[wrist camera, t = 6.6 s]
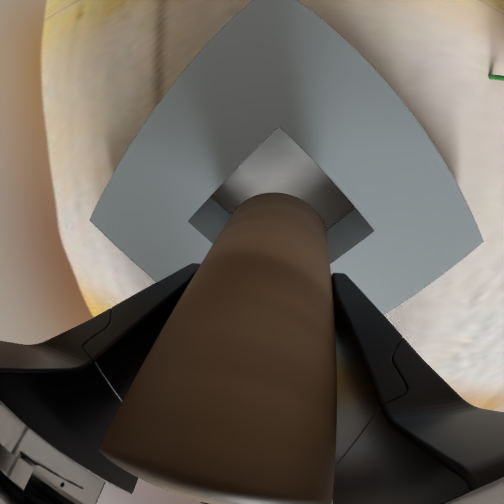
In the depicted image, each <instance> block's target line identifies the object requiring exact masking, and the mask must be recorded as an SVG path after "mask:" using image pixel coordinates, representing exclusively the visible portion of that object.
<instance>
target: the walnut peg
mask: <svg viewBox="0 0 504 504" xmlns="http://www.w3.org/2000/svg"><path fill="white" fill-rule="evenodd" d="M336 430H337V363H336V336H335V318H334V303H333V290H332V279H331V268H330V258H329V249H328V240H327V232H326V229H325V226H324V223H323V221H322V219H321V218H320V216H319V215H318V214H317V212H316V211H315V210H314V209H313V208H312V207H311V206H310V205H308V204H307V203H306V202H304V201H303V200H301V199H299V198H297V197H294V196H291V195H288V194H283V193H265V194H260V195H257V196H254V197H251V198H249V199H247V200H246V201H244V202H243V203H242V204H240V205H239V206H238V207H237V208H236V209H235V211H234V212H233V213H232V215H231V216H230V218H229V220H228V221H227V223H226V224H225V226H224V227H223V229H222V231H221V232H220V234H219V235H218V237H217V239H216V240H215V242H214V243H213V245H212V247H211V248H210V250H209V252H208V253H207V255H206V256H205V258H204V260H203V261H202V263H201V265H200V266H199V268H198V270H197V271H196V273H195V275H194V276H193V278H192V279H191V281H190V283H189V284H188V286H187V288H186V290H185V291H184V293H183V295H182V296H181V298H180V300H179V301H178V303H177V305H176V306H175V308H174V310H173V312H172V313H171V315H170V317H169V318H168V320H167V322H166V324H165V325H164V327H163V329H162V331H161V332H160V334H159V336H158V338H157V339H156V341H155V343H154V345H153V347H152V348H151V350H150V352H149V354H148V356H147V357H146V359H145V361H144V363H143V365H142V366H141V368H140V370H139V372H138V374H137V376H136V377H135V379H134V381H133V383H132V385H131V387H130V388H129V390H128V392H127V394H126V396H125V398H124V400H123V402H122V404H121V405H120V407H119V409H118V411H117V413H116V415H115V417H114V419H113V421H112V423H111V425H110V427H109V429H108V431H107V433H106V435H105V437H104V439H103V441H102V443H101V445H100V447H99V451H100V452H101V453H102V454H103V455H104V456H105V457H106V458H107V459H109V460H110V461H111V462H113V463H114V464H116V465H117V466H119V467H120V468H122V469H124V470H125V471H127V472H129V473H131V474H132V475H134V476H136V477H138V478H140V479H142V480H144V481H146V482H148V483H151V484H153V485H155V486H157V487H160V488H162V489H165V490H167V491H170V492H173V493H176V494H178V495H181V496H184V497H187V498H190V499H194V500H197V501H201V502H205V503H208V504H332V495H333V484H334V471H335V454H336Z"/></svg>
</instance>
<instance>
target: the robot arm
mask: <svg viewBox="0 0 504 504" xmlns="http://www.w3.org/2000/svg"><path fill="white" fill-rule="evenodd" d="M200 265H201V264H199V263H191V264H189V265H188V266H186V267H184V268H182V269H180V270H178V271H177V272H175V273H173V274H171V275H169V276H167V277H166V278H164V279H162V280H160V281H158V282H157V283H155V284H153V285H151V286H149V287H147V288H146V289H144V290H142V291H140V292H138V293H137V294H135V295H133V296H131V297H130V298H128V299H126V300H124V301H122V302H121V303H119V304H117V305H115V306H114V307H112V309H111V308H110V309H108V310H106V311H105V312H103V313H101V314H99V315H97V316H96V317H94V318H92V319H90V320H88V321H86V322H84V323H82V324H80V325H78V326H76V327H74V328H72V329H70V330H68V331H66V332H64V333H62V334H60V335H57V336H55V337H53V338H51V339H49V340H47V341H45V342H43V343H39V344H34V345H23V344H16V343H10V342H4V341H0V504H96V503H97V500H98V498H99V496H100V494H101V491H102V489H103V487H104V484H105V482H107V483H109V484H111V485H113V486H115V487H117V488H119V489H121V490H123V491H126V492H128V493H130V494H132V493H133V491H134V488H135V485H136V483H137V480H138V477H136V476H134V475H132V474H131V473H129V472H127V471H125V470H124V469H122V468H120V467H119V466H117V465H116V464H114V463H113V462H111V461H110V460H109V459H107V458H106V457H105V456H104V455H103V454H102V453H101V452H100V451H99V447H100V445H101V443H102V441H103V439H104V437H105V435H106V433H107V431H108V429H109V427H110V425H111V423H112V421H113V419H114V417H115V415H116V413H117V411H118V409H119V407H120V405H121V404H122V402H123V400H124V398H125V396H126V394H127V392H128V390H129V388H130V387H131V385H132V383H133V381H134V379H135V377H136V376H137V374H138V372H139V370H140V368H141V366H142V365H143V363H144V361H145V359H146V357H147V356H148V354H149V352H150V350H151V348H152V347H153V345H154V343H155V341H156V339H157V338H158V336H159V334H160V332H161V331H162V329H163V327H164V325H165V324H166V322H167V320H168V318H169V317H170V315H171V313H172V312H173V310H174V308H175V306H176V305H177V303H178V301H179V300H180V298H181V296H182V295H183V293H184V291H185V290H186V288H187V286H188V284H189V283H190V281H191V279H192V278H193V276H194V275H195V273H196V271H197V270H198V268H199V266H200ZM331 279H332V290H333V303H334V318H335V336H336V363H337V430H336V454H335V471H334V484H333V500H332V502H333V503H332V504H504V412H498V411H492V410H486V409H481V408H478V407H475V406H473V405H471V404H469V403H468V402H466V401H465V400H464V399H463V398H462V397H460V396H459V395H458V394H457V393H456V392H455V391H454V390H453V389H452V388H451V387H450V386H449V385H448V384H447V383H446V382H445V381H444V380H443V379H442V378H441V377H440V376H439V375H438V374H437V373H436V372H435V371H434V370H433V369H432V368H431V367H430V366H429V365H428V364H427V363H426V362H425V361H424V360H423V359H422V358H421V357H420V356H419V355H418V353H417V352H416V351H415V350H414V349H413V348H412V347H411V346H410V344H409V343H408V342H407V341H406V340H405V339H404V338H403V337H402V335H401V334H400V333H399V332H398V331H397V330H396V328H395V327H394V326H393V325H392V324H391V323H390V322H389V321H388V319H387V318H386V317H385V316H384V315H383V314H382V313H381V312H380V311H379V309H378V308H377V307H376V306H375V305H374V304H373V303H372V302H371V301H370V300H369V298H368V297H367V296H366V295H365V294H364V293H363V292H362V291H361V290H360V289H359V288H358V287H357V286H356V284H355V283H354V282H353V281H352V280H351V279H350V278H349V277H348V276H347V275H346V274H345V273H332V275H331ZM201 503H203V504H208V503H205V502H201Z"/></svg>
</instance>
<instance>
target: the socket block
mask: <svg viewBox="0 0 504 504" xmlns="http://www.w3.org/2000/svg"><path fill="white" fill-rule="evenodd" d="M278 127H280V128H281V129H282V130H283V131H284V132H286V133H287V134H288V135H289V136H290V137H291V138H292V139H293V140H294V141H295V142H296V143H297V144H298V145H299V146H300V147H301V148H302V149H303V150H304V151H305V152H306V153H307V154H308V155H309V156H310V158H311V159H312V160H313V161H314V162H315V163H316V164H317V165H318V166H319V167H320V168H321V169H322V170H323V171H324V172H325V173H326V175H327V176H328V177H329V178H330V179H331V180H332V181H333V182H334V183H335V184H336V186H337V187H338V188H339V189H340V190H341V191H342V192H343V193H344V195H345V196H346V197H347V198H348V199H349V200H350V202H351V203H352V204H353V205H354V206H355V207H356V208H355V209H354V210H352V211H351V212H350V213H349V214H347V215H346V216H345V217H344V218H342V219H341V220H340V221H339V222H337V223H336V224H335V225H333V226H332V227H331V228H330V229H328V230H327V231H326V232H327V240H328V249H329V258H330V268H331V275H332V273H345V274H346V275H347V276H348V277H349V278H350V279H351V280H352V281H353V282H354V283H355V284H356V286H357V287H358V288H359V289H360V290H361V291H362V292H363V293H364V294H365V295H366V296H367V297H368V298H369V300H370V301H371V302H372V303H373V304H374V305H375V306H376V307H377V308H378V309H379V311H380V312H381V313H382V314H383V315H384V314H385V313H387V312H389V311H390V310H392V309H393V308H395V307H396V306H398V305H400V304H401V303H403V302H404V301H406V300H407V299H409V298H410V297H412V296H413V295H415V294H416V293H417V292H419V291H420V290H422V289H423V288H425V287H426V286H427V285H429V284H430V283H432V282H433V281H434V280H436V279H437V278H438V277H440V276H441V275H443V274H444V273H445V272H447V271H448V270H449V269H450V268H452V267H453V266H454V265H456V264H457V263H458V262H459V261H461V260H462V259H463V258H464V257H466V256H467V255H468V254H469V253H471V252H472V251H473V250H474V249H475V248H477V247H478V246H479V245H480V244H481V243H482V242H484V241H483V238H482V236H481V233H480V231H479V229H478V226H477V224H476V222H475V219H474V217H473V215H472V213H471V211H470V209H469V206H468V204H467V202H466V200H465V198H464V196H463V194H462V192H461V190H460V189H459V187H458V185H457V183H456V181H455V179H454V177H453V176H452V174H451V172H450V170H449V169H448V167H447V165H446V163H445V162H444V160H443V158H442V157H441V155H440V154H439V152H438V150H437V149H436V147H435V146H434V144H433V143H432V141H431V140H430V138H429V137H428V135H427V134H426V132H425V131H424V129H423V128H422V126H421V125H420V124H419V122H418V121H417V119H416V118H415V117H414V115H413V114H412V113H411V111H410V110H409V109H408V107H407V106H406V105H405V104H404V102H403V101H402V100H401V99H400V97H399V96H398V95H397V94H396V92H395V91H394V90H393V89H392V88H391V87H390V85H389V84H388V83H387V82H386V81H385V80H384V78H383V77H382V76H381V75H380V74H379V73H378V72H377V71H376V70H375V69H374V67H373V66H372V65H371V64H370V63H369V62H368V61H367V60H366V59H365V58H364V57H363V56H362V55H361V54H360V53H359V52H358V51H357V50H356V49H355V48H354V47H353V46H352V45H351V44H350V43H348V42H347V41H346V40H345V39H344V38H343V37H342V36H341V35H340V34H339V33H337V32H336V31H335V30H334V29H333V28H332V27H331V26H329V25H328V24H327V23H326V22H325V21H323V20H322V19H321V18H320V17H318V16H317V15H316V14H315V13H313V12H312V11H311V10H310V9H308V8H307V7H306V6H304V5H303V4H302V3H300V2H299V1H297V0H253V1H251V2H250V3H249V4H248V5H247V6H246V7H245V8H244V9H242V10H241V11H240V12H239V13H238V14H237V15H236V16H235V17H234V18H233V19H232V20H231V21H230V22H229V23H228V24H226V25H225V26H224V27H223V28H222V29H221V30H220V31H219V32H218V34H217V35H216V36H215V37H214V38H213V39H212V40H211V41H210V42H209V43H208V44H207V45H206V46H205V47H204V48H203V49H202V51H201V52H200V53H199V54H198V55H197V56H196V57H195V58H194V60H193V61H192V62H191V63H190V64H189V65H188V66H187V68H186V69H185V70H184V71H183V72H182V74H181V75H180V76H179V77H178V79H177V80H176V81H175V82H174V84H173V85H172V86H171V87H170V89H169V90H168V91H167V93H166V94H165V95H164V97H163V98H162V99H161V101H160V102H159V103H158V105H157V106H156V107H155V109H154V110H153V112H152V113H151V114H150V116H149V117H148V119H147V120H146V122H145V123H144V125H143V126H142V128H141V129H140V131H139V132H138V134H137V135H136V137H135V138H134V140H133V141H132V143H131V145H130V146H129V148H128V149H127V151H126V153H125V154H124V156H123V158H122V159H121V161H120V163H119V164H118V166H117V168H116V170H115V171H114V173H113V175H112V177H111V179H110V180H109V182H108V184H107V186H106V188H105V190H104V192H103V194H102V195H101V197H100V199H99V201H98V203H97V205H96V207H95V209H94V211H93V214H92V216H91V218H90V221H91V222H92V223H93V224H94V225H95V226H96V227H97V228H98V229H99V230H100V231H101V232H102V233H103V234H104V235H105V236H106V237H107V238H108V239H109V240H110V241H111V242H112V243H113V244H115V245H116V246H117V247H118V248H119V249H120V250H121V251H122V252H123V253H124V254H125V255H126V256H127V257H129V258H130V259H131V260H132V261H133V262H134V263H135V264H136V265H137V266H139V267H140V268H141V269H142V270H143V271H144V272H145V273H147V274H148V275H149V276H150V277H151V278H152V279H153V280H155V281H156V282H158V281H160V280H162V279H164V278H166V277H167V276H169V275H171V274H173V273H175V272H177V271H178V270H180V269H182V268H184V267H186V266H188V265H189V264H191V263H199V264H201V263H202V261H203V260H204V258H205V256H206V255H207V253H208V252H209V250H210V248H211V247H212V245H213V243H214V242H215V240H216V239H217V237H218V235H219V234H220V232H221V231H222V229H223V227H224V226H225V224H226V223H227V221H228V220H229V218H230V216H231V215H230V214H229V213H228V212H227V211H226V210H225V209H224V208H223V207H221V206H220V205H219V204H218V203H217V202H216V201H215V200H214V199H213V198H212V197H211V195H212V194H213V193H214V192H215V191H216V190H217V189H218V188H219V187H220V186H221V185H222V184H223V182H224V181H225V180H226V179H227V178H228V177H229V176H230V175H231V174H232V173H233V172H234V171H235V170H236V169H237V168H238V167H239V166H240V165H241V164H242V163H243V162H244V161H245V160H246V158H247V157H248V156H249V155H250V154H251V153H252V152H253V151H254V150H255V149H256V148H257V147H258V146H259V145H260V144H261V143H262V142H263V141H264V140H265V139H266V138H268V137H269V136H270V135H271V134H272V133H273V132H274V131H275V130H276V129H277V128H278Z"/></svg>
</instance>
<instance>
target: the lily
mask: <svg viewBox="0 0 504 504" xmlns="http://www.w3.org/2000/svg"><path fill="white" fill-rule="evenodd" d="M489 78H490V79H495V80H503V81H504V76H500V75H491V74H489Z"/></svg>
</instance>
